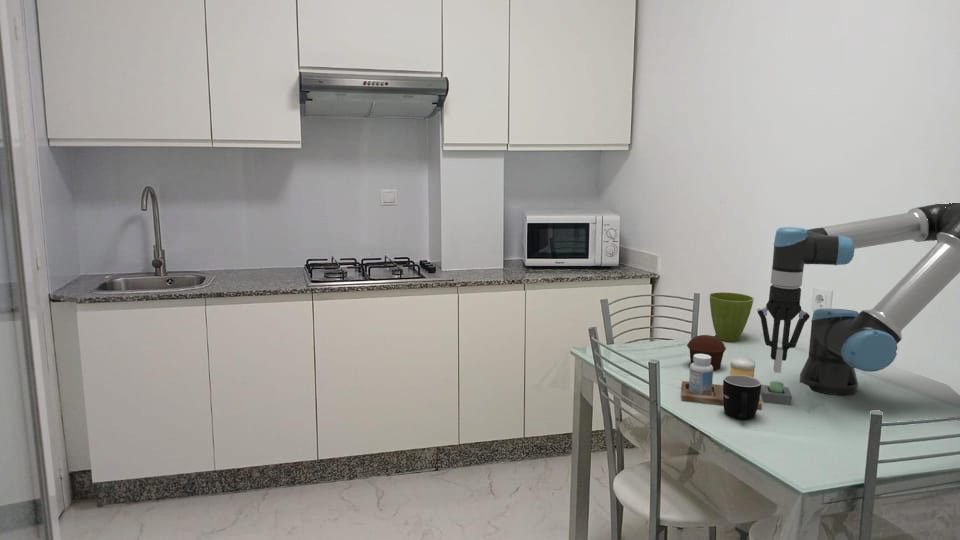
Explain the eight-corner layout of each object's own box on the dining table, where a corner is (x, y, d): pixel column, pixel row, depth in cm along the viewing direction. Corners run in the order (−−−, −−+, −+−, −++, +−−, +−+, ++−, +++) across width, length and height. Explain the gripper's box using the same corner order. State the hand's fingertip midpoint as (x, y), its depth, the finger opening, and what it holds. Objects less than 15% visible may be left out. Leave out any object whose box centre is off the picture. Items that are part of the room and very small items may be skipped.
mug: (719, 409, 173) (722, 373, 171) (755, 413, 171) (758, 376, 169) (723, 427, 162) (726, 388, 160) (762, 432, 160) (765, 392, 158)
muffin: (722, 363, 212) (725, 333, 210) (726, 374, 201) (729, 342, 200) (684, 360, 215) (686, 330, 213) (686, 370, 204) (688, 339, 202)
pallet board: (756, 397, 182) (757, 388, 182) (760, 413, 171) (761, 404, 170) (681, 389, 188) (682, 380, 188) (681, 404, 177) (681, 395, 176)
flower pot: (744, 334, 246) (747, 293, 243) (755, 346, 231) (758, 301, 228) (702, 332, 248) (705, 291, 245) (711, 344, 233) (714, 300, 230)
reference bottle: (751, 396, 180) (754, 358, 178) (753, 404, 174) (756, 365, 172) (727, 394, 182) (730, 356, 180) (728, 402, 176) (731, 363, 174)
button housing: (787, 399, 181) (788, 387, 180) (790, 408, 174) (792, 396, 174) (759, 396, 183) (760, 384, 182) (762, 405, 176) (763, 393, 176)
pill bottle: (709, 392, 183) (712, 353, 181) (712, 400, 177) (715, 360, 175) (687, 390, 184) (689, 352, 182) (689, 398, 178) (692, 358, 176)
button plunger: (781, 394, 179) (782, 381, 179) (783, 398, 176) (784, 386, 175) (768, 392, 180) (769, 380, 180) (769, 396, 177) (770, 384, 176)
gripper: (810, 285, 174) (801, 369, 179) (757, 281, 178) (749, 364, 182) (815, 290, 167) (805, 378, 172) (760, 286, 171) (752, 372, 175)
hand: (777, 371), depth 177 cm, fingers closed
